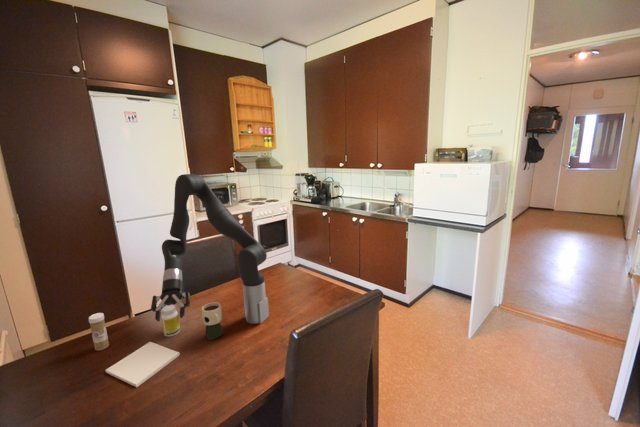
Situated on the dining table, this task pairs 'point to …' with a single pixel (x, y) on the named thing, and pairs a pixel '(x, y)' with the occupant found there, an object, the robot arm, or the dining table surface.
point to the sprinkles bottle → (99, 331)
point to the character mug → (212, 319)
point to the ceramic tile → (142, 363)
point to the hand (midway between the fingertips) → (169, 319)
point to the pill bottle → (170, 321)
